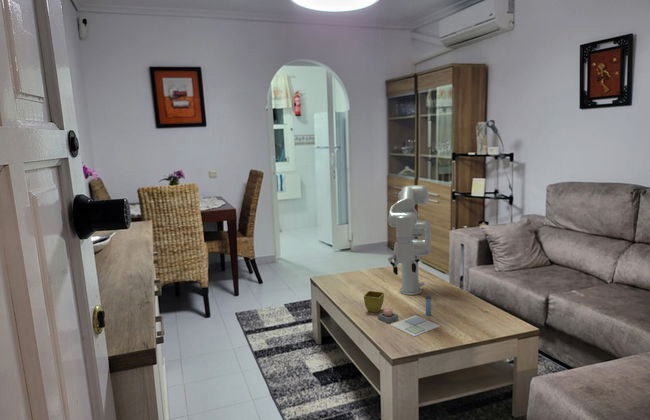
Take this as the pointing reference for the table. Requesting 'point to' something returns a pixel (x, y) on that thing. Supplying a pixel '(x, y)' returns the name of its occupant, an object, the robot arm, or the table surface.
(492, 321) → the table surface
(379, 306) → the flower pot
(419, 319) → the sheet
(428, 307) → the cylinder
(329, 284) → the table surface
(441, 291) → the table surface
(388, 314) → the button
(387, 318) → the button collar
